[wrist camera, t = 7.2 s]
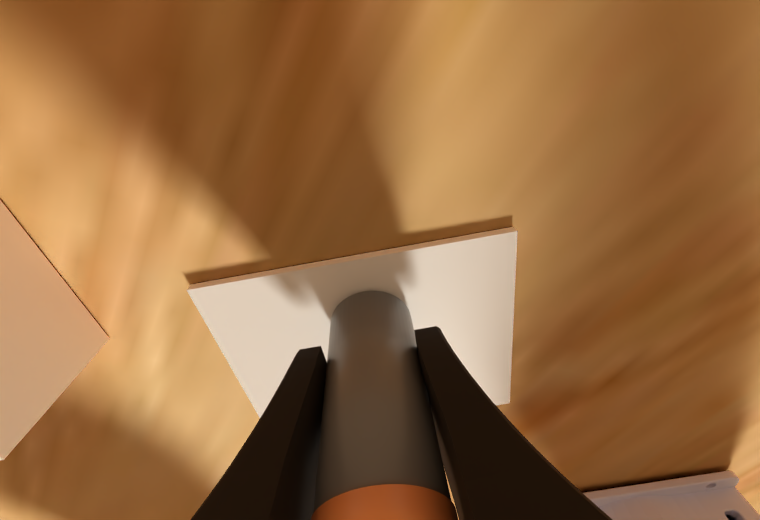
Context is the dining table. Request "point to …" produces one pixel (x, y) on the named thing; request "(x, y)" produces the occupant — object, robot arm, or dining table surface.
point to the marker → (377, 420)
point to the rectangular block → (36, 334)
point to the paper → (370, 273)
